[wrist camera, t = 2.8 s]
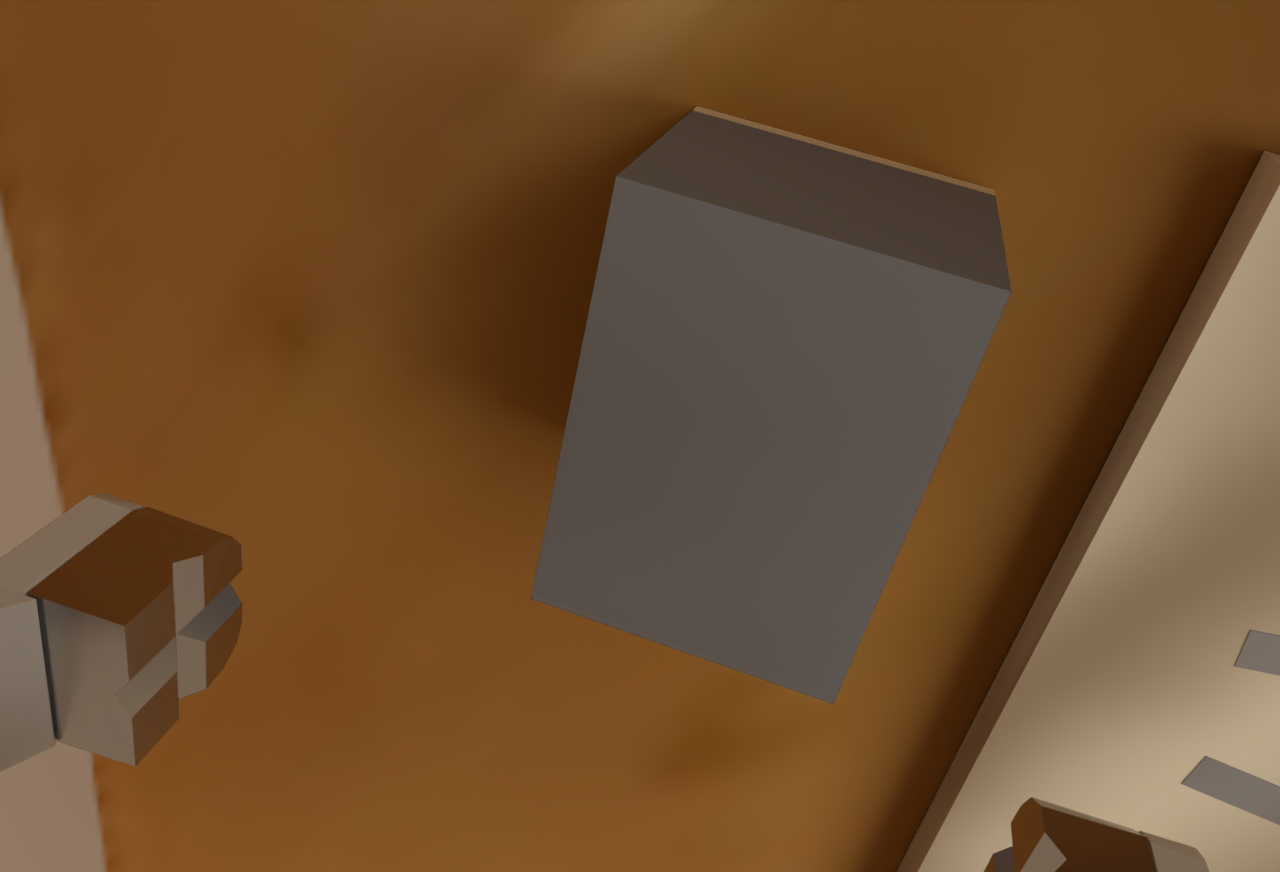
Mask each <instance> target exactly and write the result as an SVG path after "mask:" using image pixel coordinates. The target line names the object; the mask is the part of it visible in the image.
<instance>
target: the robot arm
mask: <svg viewBox="0 0 1280 872" xmlns="http://www.w3.org/2000/svg"><path fill="white" fill-rule="evenodd" d="M241 570H242V558H241V544H240V543H239V542H238V541H236V540H235V539H234V538H233V537H231V536H228V535H226V534H223V533H220V532H217V531H214V530H212V529H209V528H206V527H203V526H200V525H197V524H195V523H192V522H189V521H186V520H183V519H180V518H178V517H175V516H172V515H169V514H166V513H163V512H161V511H158V510H155V509H152V508H149V507H146V508H145V507H143V506H140V505H137V504H135V503H132V502H129V501H126V500H124V499H121V498H118V497H115V496H113V495H110V494H107V493H102V494H96V495H90V496H88V497H86V498H85V499H83V500H82V501H81V502H79V503H78V504H76V505H75V506H74V507H72V508H71V509H69V510H68V511H67V512H65V513H64V514H62V515H61V516H60V517H58V518H57V519H55V520H54V521H53V522H51V523H50V524H48V525H47V526H45V527H44V528H43V529H41V530H40V531H38V532H37V533H36V534H34V535H33V536H31V537H30V538H29V539H27V540H26V541H24V542H23V543H22V544H20V545H19V546H18V547H16V548H14V549H13V550H12V551H10V552H9V553H7V554H6V555H5V556H3V557H2V558H0V772H1V771H3V770H5V769H7V768H9V767H11V766H13V765H15V764H18V763H20V762H22V761H24V760H26V759H28V758H30V757H32V756H34V755H36V754H39V753H41V752H43V751H45V750H47V749H49V748H51V747H53V746H55V741H58V742H62V743H65V744H67V745H71V746H74V747H77V748H80V749H83V750H86V751H89V752H92V753H95V754H98V755H101V756H104V757H107V758H110V759H114V760H117V761H120V762H123V763H126V764H129V765H132V766H136V765H137V764H138V763H139V762H140V761H141V760H142V759H143V758H144V756H145V755H146V754H147V753H148V752H149V751H150V750H151V749H152V748H153V747H154V745H155V744H156V743H157V742H158V741H159V740H160V739H161V738H162V737H163V736H164V735H165V733H166V732H167V731H168V730H169V729H170V728H171V727H172V726H173V725H174V724H175V723H176V721H177V720H178V719H179V699H180V698H182V697H185V696H188V695H190V694H193V693H196V692H198V691H201V690H204V689H206V688H207V687H208V686H209V685H210V684H211V682H212V681H213V680H214V679H215V678H216V677H217V676H218V674H219V673H220V672H221V671H222V670H223V668H224V667H225V665H226V663H227V661H228V659H229V657H230V655H231V653H232V651H233V649H234V647H235V645H236V644H237V640H238V636H239V632H240V627H241V623H242V602H241V601H240V599H239V598H238V596H237V594H236V593H235V591H234V590H233V588H232V587H231V585H230V583H229V582H230V581H231V580H232V579H233V578H234V577H235V576H236V575H237V574H238V573H239V572H240V571H241ZM1011 833H1012V844H1013V846H1011V847H1009V848H1006V849H1004V850H1001V851H999V852H996V853H994V854H993V855H992V857H991V859H990V861H989V863H988V864H987V866H986V868H985V870H984V872H1209V870H1208V866H1207V863H1206V860H1205V858H1204V857H1203V856H1202V854H1201V853H1200V852H1199V851H1198V850H1197V848H1194V847H1191V846H1188V845H1185V844H1182V843H1178V842H1175V841H1172V840H1169V839H1165V838H1162V837H1159V836H1156V835H1152V834H1149V833H1146V832H1143V831H1139V832H1137V831H1135V830H1134V829H1131V828H1128V827H1125V826H1122V825H1118V824H1115V823H1112V822H1109V821H1106V820H1103V819H1100V818H1096V817H1093V816H1090V815H1087V814H1084V813H1081V812H1077V811H1074V810H1071V809H1068V808H1065V807H1062V806H1059V805H1055V804H1052V803H1049V802H1046V801H1043V800H1040V799H1036V798H1033V797H1031V798H1029V799H1028V800H1027V801H1026V802H1025V803H1023V804H1022V805H1021V806H1020V808H1019V810H1018V811H1017V813H1016V815H1015V816H1014V818H1013V820H1012V822H1011Z"/></svg>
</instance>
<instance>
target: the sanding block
mask: <svg viewBox="0 0 1280 872" xmlns="http://www.w3.org/2000/svg"><path fill="white" fill-rule="evenodd" d="M1010 293H1011V288H1010V281H1009V275H1008V269H1007V263H1006V257H1005V251H1004V245H1003V239H1002V233H1001V227H1000V221H999V215H998V209H997V203H996V196H995V190H994V189H991V188H987V187H984V186H980V185H976V184H973V183H969V182H966V181H962V180H959V179H955V178H951V177H948V176H944V175H941V174H937V173H934V172H930V171H927V170H923V169H919V168H916V167H912V166H909V165H905V164H902V163H898V162H895V161H891V160H887V159H884V158H880V157H877V156H873V155H870V154H866V153H863V152H859V151H855V150H852V149H848V148H845V147H841V146H838V145H834V144H830V143H827V142H823V141H820V140H816V139H813V138H809V137H806V136H802V135H798V134H795V133H791V132H788V131H784V130H781V129H777V128H774V127H770V126H766V125H763V124H759V123H756V122H752V121H749V120H745V119H741V118H738V117H734V116H731V115H727V114H724V113H720V112H717V111H713V110H709V109H706V108H702V107H699V106H697V107H695V108H694V109H693V110H692V111H691V112H690V113H688V114H687V115H686V116H685V117H684V118H683V119H682V120H680V121H679V122H678V123H677V124H676V125H675V126H673V127H672V128H671V129H670V130H669V131H668V132H666V133H665V134H664V135H663V136H662V137H661V138H660V139H658V140H657V141H656V142H655V143H654V144H653V145H651V146H650V147H649V148H648V149H647V150H646V151H645V152H643V153H642V154H641V155H640V156H639V157H638V158H636V159H635V160H634V161H633V162H632V163H631V164H630V165H628V166H627V167H626V168H625V169H624V170H623V171H621V172H620V173H619V174H618V175H617V176H616V179H615V184H614V189H613V194H612V199H611V204H610V209H609V214H608V219H607V224H606V229H605V234H604V239H603V244H602V249H601V254H600V259H599V264H598V269H597V274H596V278H595V283H594V288H593V293H592V298H591V303H590V308H589V313H588V318H587V323H586V328H585V333H584V338H583V343H582V348H581V353H580V358H579V363H578V368H577V373H576V378H575V383H574V388H573V393H572V397H571V402H570V407H569V412H568V417H567V422H566V427H565V432H564V437H563V442H562V447H561V452H560V457H559V462H558V467H557V472H556V477H555V482H554V487H553V492H552V497H551V502H550V507H549V512H548V516H547V521H546V526H545V531H544V536H543V541H542V546H541V551H540V556H539V561H538V566H537V571H536V576H535V581H534V586H533V591H532V596H531V599H533V600H536V601H539V602H542V603H545V604H548V605H551V606H554V607H556V608H559V609H562V610H565V611H568V612H571V613H574V614H576V615H579V616H582V617H585V618H588V619H591V620H594V621H597V622H599V623H602V624H605V625H608V626H611V627H614V628H617V629H619V630H622V631H625V632H628V633H631V634H634V635H637V636H640V637H642V638H645V639H648V640H651V641H654V642H657V643H660V644H662V645H665V646H668V647H671V648H674V649H677V650H680V651H683V652H685V653H688V654H691V655H694V656H697V657H700V658H703V659H705V660H708V661H711V662H714V663H717V664H720V665H723V666H726V667H728V668H731V669H734V670H737V671H740V672H743V673H746V674H748V675H751V676H754V677H757V678H760V679H763V680H766V681H769V682H771V683H774V684H777V685H780V686H783V687H786V688H789V689H791V690H794V691H797V692H800V693H803V694H806V695H809V696H812V697H814V698H817V699H820V700H823V701H826V702H829V703H832V704H834V701H835V699H836V697H837V694H838V692H839V690H840V687H841V685H842V683H843V680H844V678H845V676H846V673H847V671H848V669H849V666H850V664H851V662H852V659H853V657H854V655H855V653H856V650H857V648H858V646H859V643H860V641H861V639H862V636H863V634H864V632H865V629H866V627H867V625H868V622H869V620H870V618H871V615H872V613H873V611H874V608H875V606H876V604H877V602H878V599H879V597H880V595H881V592H882V590H883V588H884V585H885V583H886V581H887V578H888V576H889V574H890V571H891V569H892V567H893V564H894V562H895V560H896V557H897V555H898V553H899V551H900V548H901V546H902V544H903V541H904V539H905V537H906V534H907V532H908V530H909V527H910V525H911V523H912V520H913V518H914V516H915V513H916V511H917V509H918V506H919V504H920V502H921V500H922V497H923V495H924V493H925V490H926V488H927V486H928V483H929V481H930V479H931V476H932V474H933V472H934V469H935V467H936V465H937V462H938V460H939V458H940V455H941V453H942V451H943V449H944V446H945V444H946V442H947V439H948V437H949V435H950V432H951V430H952V428H953V425H954V423H955V421H956V418H957V416H958V414H959V411H960V409H961V407H962V404H963V402H964V400H965V398H966V395H967V393H968V391H969V388H970V386H971V384H972V381H973V379H974V377H975V374H976V372H977V370H978V367H979V365H980V363H981V360H982V358H983V356H984V353H985V351H986V349H987V347H988V344H989V342H990V340H991V337H992V335H993V333H994V330H995V328H996V326H997V323H998V321H999V319H1000V316H1001V314H1002V312H1003V309H1004V307H1005V305H1006V302H1007V300H1008V298H1009V296H1010Z"/></svg>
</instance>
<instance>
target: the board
mask: <svg viewBox="0 0 1280 872" xmlns="http://www.w3.org/2000/svg"><path fill="white" fill-rule="evenodd" d="M1031 797H1033V798H1036V799H1040V800H1043V801H1046V802H1049V803H1052V804H1055V805H1059V806H1062V807H1065V808H1068V809H1071V810H1074V811H1077V812H1081V813H1084V814H1087V815H1090V816H1093V817H1096V818H1100V819H1103V820H1106V821H1109V822H1112V823H1115V824H1118V825H1122V826H1125V827H1128V828H1131V829H1134V830H1135V831H1137V832H1139V831H1143V832H1146V833H1149V834H1152V835H1156V836H1159V837H1162V838H1165V839H1169V840H1172V841H1175V842H1178V843H1182V844H1185V845H1188V846H1191V847H1194V848H1197V850H1198V851H1199V852H1200V853H1201V854H1202V856H1203V857H1204V858H1205V860H1206V863H1207V866H1208V870H1209V872H1280V155H1279V154H1275V153H1271V152H1267V151H1264V152H1263V154H1262V156H1261V158H1260V160H1259V162H1258V164H1257V166H1256V168H1255V170H1254V172H1253V174H1252V176H1251V178H1250V180H1249V182H1248V184H1247V186H1246V188H1245V190H1244V192H1243V194H1242V196H1241V198H1240V200H1239V201H1238V203H1237V205H1236V207H1235V209H1234V211H1233V213H1232V215H1231V217H1230V219H1229V221H1228V223H1227V225H1226V227H1225V229H1224V231H1223V233H1222V235H1221V237H1220V239H1219V241H1218V243H1217V245H1216V247H1215V249H1214V250H1213V252H1212V254H1211V256H1210V258H1209V260H1208V262H1207V264H1206V266H1205V268H1204V270H1203V272H1202V274H1201V276H1200V278H1199V280H1198V282H1197V284H1196V286H1195V288H1194V290H1193V292H1192V294H1191V296H1190V298H1189V299H1188V301H1187V303H1186V305H1185V307H1184V309H1183V311H1182V313H1181V315H1180V317H1179V319H1178V321H1177V323H1176V325H1175V327H1174V329H1173V331H1172V333H1171V335H1170V337H1169V339H1168V341H1167V343H1166V345H1165V347H1164V348H1163V350H1162V352H1161V354H1160V356H1159V358H1158V360H1157V362H1156V364H1155V366H1154V368H1153V370H1152V372H1151V374H1150V376H1149V378H1148V380H1147V382H1146V384H1145V386H1144V388H1143V390H1142V392H1141V394H1140V396H1139V397H1138V399H1137V401H1136V403H1135V405H1134V407H1133V409H1132V411H1131V413H1130V415H1129V417H1128V419H1127V421H1126V423H1125V425H1124V427H1123V429H1122V431H1121V433H1120V435H1119V437H1118V439H1117V441H1116V443H1115V445H1114V446H1113V448H1112V450H1111V452H1110V454H1109V456H1108V458H1107V460H1106V462H1105V464H1104V466H1103V468H1102V470H1101V472H1100V474H1099V476H1098V478H1097V480H1096V482H1095V484H1094V486H1093V488H1092V490H1091V492H1090V493H1089V495H1088V497H1087V499H1086V501H1085V503H1084V505H1083V507H1082V509H1081V511H1080V513H1079V515H1078V517H1077V519H1076V521H1075V523H1074V525H1073V527H1072V529H1071V531H1070V533H1069V535H1068V537H1067V539H1066V541H1065V542H1064V544H1063V546H1062V548H1061V550H1060V552H1059V554H1058V556H1057V558H1056V560H1055V562H1054V564H1053V566H1052V568H1051V570H1050V572H1049V574H1048V576H1047V578H1046V580H1045V582H1044V584H1043V586H1042V588H1041V590H1040V591H1039V593H1038V595H1037V597H1036V599H1035V601H1034V603H1033V605H1032V607H1031V609H1030V611H1029V613H1028V615H1027V617H1026V619H1025V621H1024V623H1023V625H1022V627H1021V629H1020V631H1019V633H1018V635H1017V637H1016V639H1015V640H1014V642H1013V644H1012V646H1011V648H1010V650H1009V652H1008V654H1007V656H1006V658H1005V660H1004V662H1003V664H1002V666H1001V668H1000V670H999V672H998V674H997V676H996V678H995V680H994V682H993V684H992V686H991V688H990V689H989V691H988V693H987V695H986V697H985V699H984V701H983V703H982V705H981V707H980V709H979V711H978V713H977V715H976V717H975V719H974V721H973V723H972V725H971V727H970V729H969V731H968V733H967V735H966V737H965V738H964V740H963V742H962V744H961V746H960V748H959V750H958V752H957V754H956V756H955V758H954V760H953V762H952V764H951V766H950V768H949V770H948V772H947V774H946V776H945V778H944V780H943V782H942V784H941V786H940V787H939V789H938V791H937V793H936V795H935V797H934V799H933V801H932V803H931V805H930V807H929V809H928V811H927V813H926V815H925V817H924V819H923V821H922V823H921V825H920V827H919V829H918V831H917V833H916V834H915V836H914V838H913V840H912V842H911V844H910V846H909V848H908V850H907V852H906V854H905V856H904V858H903V860H902V862H901V864H900V866H899V868H898V870H897V872H984V870H985V868H986V866H987V864H988V863H989V861H990V859H991V857H992V855H993V854H994V853H996V852H999V851H1001V850H1004V849H1006V848H1009V847H1011V846H1013V844H1012V833H1011V822H1012V820H1013V818H1014V816H1015V815H1016V813H1017V811H1018V810H1019V808H1020V806H1021V805H1022V804H1023V803H1025V802H1026V801H1027V800H1028V799H1029V798H1031Z"/></svg>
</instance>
